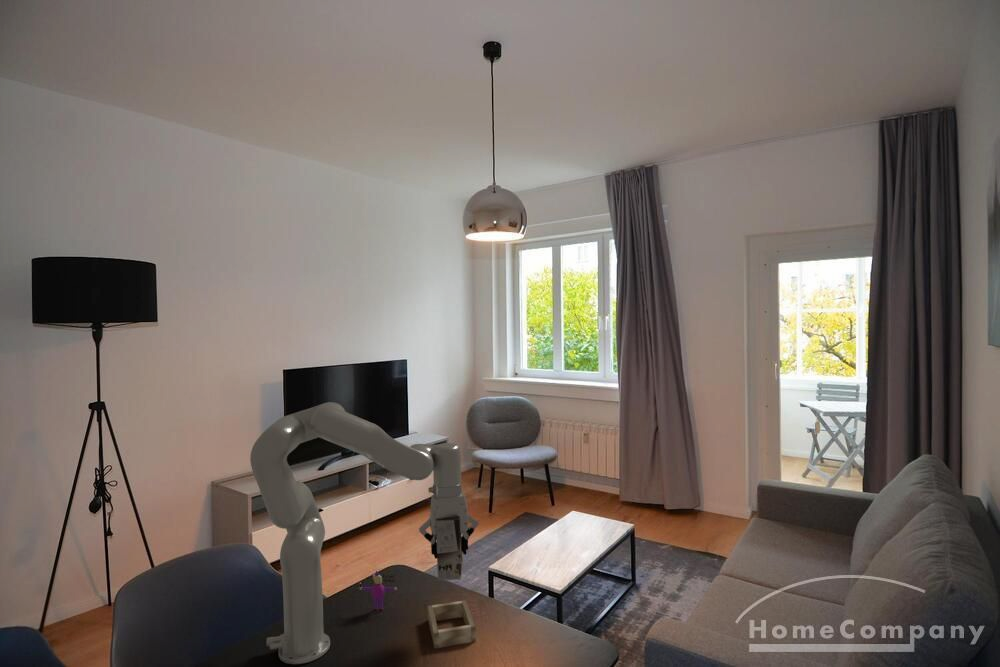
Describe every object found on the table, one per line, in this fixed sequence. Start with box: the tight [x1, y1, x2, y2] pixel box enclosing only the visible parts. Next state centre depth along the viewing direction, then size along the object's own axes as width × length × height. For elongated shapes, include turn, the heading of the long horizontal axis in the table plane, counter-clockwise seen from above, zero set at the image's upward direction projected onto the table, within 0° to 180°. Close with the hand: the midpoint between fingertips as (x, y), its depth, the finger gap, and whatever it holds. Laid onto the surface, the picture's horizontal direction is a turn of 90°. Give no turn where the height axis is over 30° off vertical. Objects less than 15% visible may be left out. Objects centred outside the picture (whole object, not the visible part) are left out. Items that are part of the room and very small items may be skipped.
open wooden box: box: [427, 600, 477, 649], centre depth 147 cm, size 11×14×4 cm
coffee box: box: [436, 517, 464, 581], centre depth 146 cm, size 9×6×16 cm
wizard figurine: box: [359, 570, 398, 611], centre depth 157 cm, size 11×3×12 cm, turn 85°
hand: (450, 554), depth 146 cm, fingers closed on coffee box, 7 cm apart
